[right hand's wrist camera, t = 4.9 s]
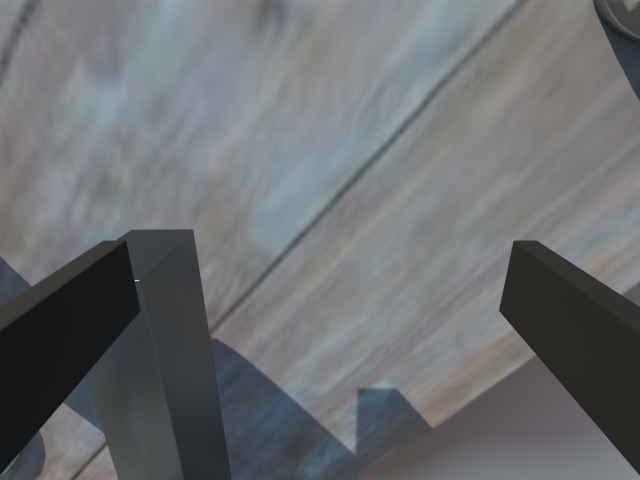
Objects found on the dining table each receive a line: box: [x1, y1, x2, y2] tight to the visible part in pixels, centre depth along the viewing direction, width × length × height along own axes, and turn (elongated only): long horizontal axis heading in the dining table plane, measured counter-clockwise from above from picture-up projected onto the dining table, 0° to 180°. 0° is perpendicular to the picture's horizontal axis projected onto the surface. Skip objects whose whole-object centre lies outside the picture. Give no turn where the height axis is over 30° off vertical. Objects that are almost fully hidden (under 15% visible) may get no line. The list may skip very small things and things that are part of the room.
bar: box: [86, 230, 231, 480], centre depth 32 cm, size 36×5×9 cm, turn 1°
